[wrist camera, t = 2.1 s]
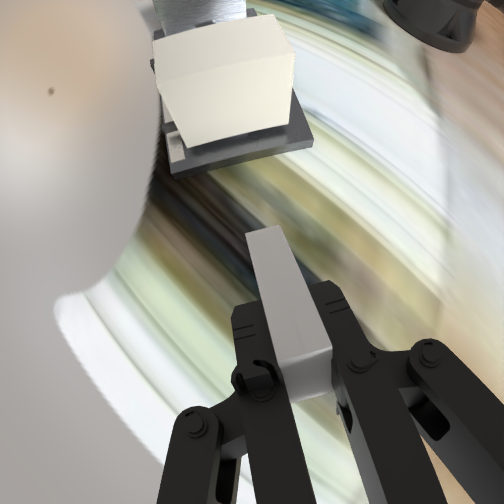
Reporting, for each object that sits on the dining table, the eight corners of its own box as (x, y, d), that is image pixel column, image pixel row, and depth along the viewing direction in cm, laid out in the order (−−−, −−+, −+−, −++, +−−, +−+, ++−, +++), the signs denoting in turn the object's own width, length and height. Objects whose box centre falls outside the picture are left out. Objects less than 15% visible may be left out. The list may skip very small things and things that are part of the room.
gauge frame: (156, 39, 31) (135, -13, 22) (253, 16, 31) (250, -40, 22) (175, 180, 27) (137, 127, 18) (311, 147, 27) (328, 82, 18)
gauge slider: (162, 112, 26) (129, 49, 17) (272, 84, 26) (273, 13, 17) (168, 154, 25) (129, 94, 16) (288, 124, 25) (295, 53, 16)
